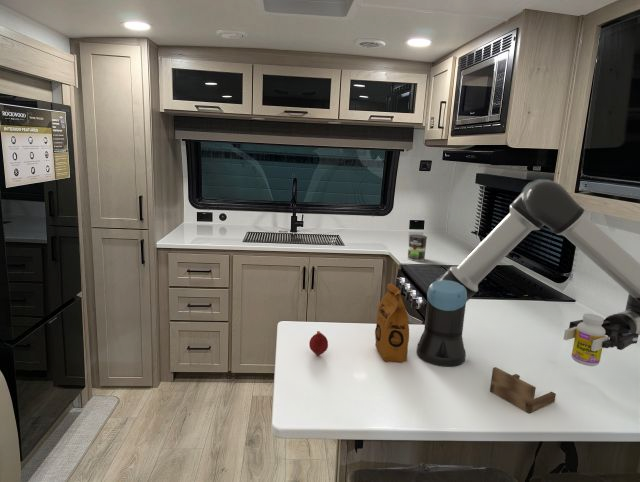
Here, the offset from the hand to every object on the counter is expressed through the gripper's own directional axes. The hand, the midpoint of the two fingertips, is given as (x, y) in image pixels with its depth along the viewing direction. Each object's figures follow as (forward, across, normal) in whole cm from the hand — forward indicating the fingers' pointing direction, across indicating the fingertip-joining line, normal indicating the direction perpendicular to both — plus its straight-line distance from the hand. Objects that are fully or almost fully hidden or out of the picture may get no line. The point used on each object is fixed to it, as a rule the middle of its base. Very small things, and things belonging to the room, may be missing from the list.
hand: (579, 340), depth 118 cm
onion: (+47, +53, -18) cm, 73 cm away
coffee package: (+26, +43, -18) cm, 53 cm away
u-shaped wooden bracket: (+10, +7, -17) cm, 21 cm away
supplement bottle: (-5, 0, -7) cm, 9 cm away
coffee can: (-73, +135, -18) cm, 154 cm away
